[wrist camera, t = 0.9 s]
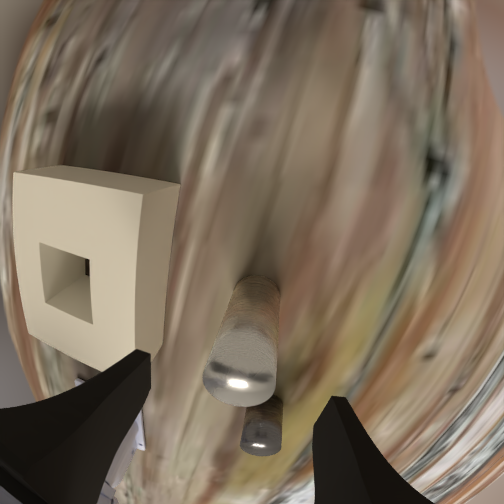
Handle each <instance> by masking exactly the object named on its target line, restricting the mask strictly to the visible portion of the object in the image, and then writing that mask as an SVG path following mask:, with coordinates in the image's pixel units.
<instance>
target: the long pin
mask: <svg viewBox="0 0 504 504" xmlns="http://www.w3.org/2000/svg"><path fill="white" fill-rule="evenodd" d="M279 309H280V293H279V290H278V288H277V286H276V285H275V283H274V282H273V281H271V280H270V279H268V278H266V277H264V276H260V275H252V276H248V277H245V278H243V279H242V280H240V281H239V282H238V283H237V285H236V287H235V289H234V291H233V294H232V297H231V299H230V302H229V305H228V307H227V310H226V313H225V315H224V318H223V321H222V323H221V326H220V329H219V331H218V334H217V337H216V339H215V342H214V345H213V347H212V350H211V353H210V355H209V358H208V361H207V364H206V366H205V369H204V372H203V383H204V385H205V387H206V389H207V390H208V392H209V393H210V394H211V395H212V396H214V397H215V398H216V399H218V400H220V401H222V402H224V403H226V404H229V405H233V406H240V407H249V406H255V405H258V404H261V403H263V402H265V401H266V400H268V399H269V398H270V397H271V396H272V395H273V393H274V391H275V387H276V372H277V353H278V333H279Z"/></svg>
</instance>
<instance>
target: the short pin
mask: <svg viewBox="0 0 504 504" xmlns="http://www.w3.org/2000/svg"><path fill="white" fill-rule="evenodd" d="M282 419H283V402H282V401H281V399H280V398H278V397H277V396H275V395H272V396H271V397H270V398H269V399H268V400H266V401H265V402H263V403H261V404H258V405H255V406H249V407H247V408H246V413H245V419H244V425H243V431H242V437H241V442H240V447H241V448H242V450H243V451H245V452H247V453H249V454H252V455H256V456H270V455H273V454H276V453H278V452H279V451H280V450H281V441H282Z"/></svg>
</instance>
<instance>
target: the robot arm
mask: <svg viewBox="0 0 504 504" xmlns="http://www.w3.org/2000/svg"><path fill="white" fill-rule="evenodd" d="M75 384H76V387H74V388H72V389H70V390H68V391H66V392H63V393H61V394H59V395H56V396H53V397H50V398H48V399H45V400H42V401H38V402H35V403H31V404H27V405H22V406H17V407H11V408H3V409H0V504H119V503H118V500H117V498H115V497H114V494H115V492H116V490H115V489H113V488H114V487H116V486H117V485H119V484H120V482H121V481H122V479H123V477H124V475H125V473H126V470H127V468H128V466H129V464H130V462H131V460H132V458H133V456H134V453H135V451H136V449H137V448H138V449H140V450H145V449H146V445H145V437H144V428H143V418H142V407H143V405H144V403H145V401H146V398H147V396H148V394H149V391H150V389H151V354H150V353H147V352H145V351H142V350H139V349H135V350H134V351H132V352H131V353H129V354H128V355H127V356H125V357H124V358H122V359H121V360H119V361H118V362H116V363H115V364H114V365H112V366H111V367H109V368H107V369H106V370H104V371H103V372H101V373H100V374H98V375H96V376H95V377H93V378H91V379H89V380H87V381H86V382H85V381H83V380H81V379H79V378H76V380H75ZM312 451H313V467H314V483H315V503H314V504H435V503H433V502H431V501H430V500H429V499H427V498H426V497H424V496H423V495H422V494H420V493H419V492H418V491H417V490H415V489H414V488H413V487H412V486H411V485H410V484H409V483H407V482H406V481H405V480H404V479H403V478H402V477H401V476H400V475H399V474H398V473H397V472H396V471H395V469H394V468H393V467H392V466H391V465H390V464H389V463H388V461H387V460H386V459H385V458H384V456H383V455H382V454H381V452H380V451H379V450H378V448H377V447H376V446H375V444H374V443H373V441H372V440H371V438H370V437H369V435H368V434H367V432H366V430H365V429H364V427H363V426H362V424H361V422H360V421H359V419H358V417H357V416H356V414H355V412H354V411H353V409H352V407H351V405H350V404H349V402H348V400H347V399H346V397H338V396H331V398H330V400H329V401H328V403H327V405H326V406H325V408H324V410H323V411H322V413H321V414H320V416H319V418H318V419H317V421H316V422H315V424H314V428H313V443H312Z"/></svg>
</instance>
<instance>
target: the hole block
mask: <svg viewBox="0 0 504 504" xmlns="http://www.w3.org/2000/svg"><path fill="white" fill-rule="evenodd" d="M180 185H181V184H177V183H172V182H167V181H161V180H156V179H150V178H144V177H139V176H133V175H127V174H120V173H114V172H108V171H101V170H94V169H87V168H80V167H73V166H65V165H59V166H51V167H43V168H36V169H30V170H23V171H17V172H14V174H13V234H14V248H15V259H16V268H17V275H18V282H19V289H20V295H21V300H22V305H23V310H24V315H25V320H26V324H27V328H28V332H29V334H31V335H32V336H34V337H36V338H37V339H39V340H41V341H43V342H44V343H46V344H48V345H50V346H51V347H53V348H55V349H57V350H59V351H61V352H63V353H64V354H66V355H68V356H70V357H72V358H74V359H76V360H78V361H80V362H82V363H84V364H86V365H88V366H91V367H93V368H95V369H97V370H99V371H101V372H103V371H104V370H106V369H107V368H109V367H111V366H112V365H114V364H115V363H116V362H118V361H119V360H121V359H122V358H124V357H125V356H127V355H128V354H129V353H131V352H132V351H134V350H135V349H139V350H142V351H145V352H147V353H150V354H151V362H152V360H153V359H154V357H155V356H156V354H157V352H158V351H159V349H160V347H161V346H162V344H163V333H164V318H165V305H166V293H167V282H168V273H169V263H170V255H171V246H172V239H173V231H174V224H175V217H176V210H177V204H178V197H179V191H180ZM85 258H86V259H89V260H90V276H88V275H85Z"/></svg>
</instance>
